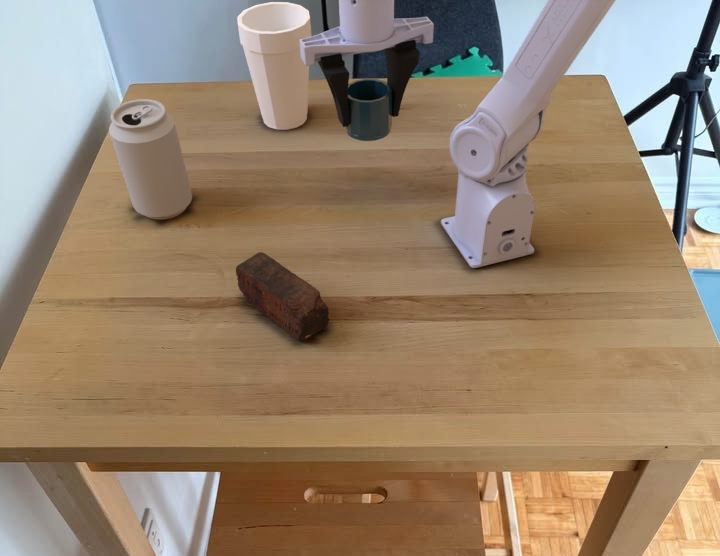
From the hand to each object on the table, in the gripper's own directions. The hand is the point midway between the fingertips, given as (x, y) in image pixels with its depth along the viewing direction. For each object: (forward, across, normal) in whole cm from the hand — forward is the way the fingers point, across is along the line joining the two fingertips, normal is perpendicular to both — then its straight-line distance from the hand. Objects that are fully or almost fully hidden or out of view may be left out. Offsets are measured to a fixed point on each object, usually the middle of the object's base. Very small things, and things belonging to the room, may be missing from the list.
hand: (368, 117), depth 83 cm
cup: (+1, 0, 0) cm, 1 cm away
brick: (+10, +16, +19) cm, 27 cm away
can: (+10, +26, -6) cm, 28 cm away
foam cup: (+10, +6, -21) cm, 24 cm away
